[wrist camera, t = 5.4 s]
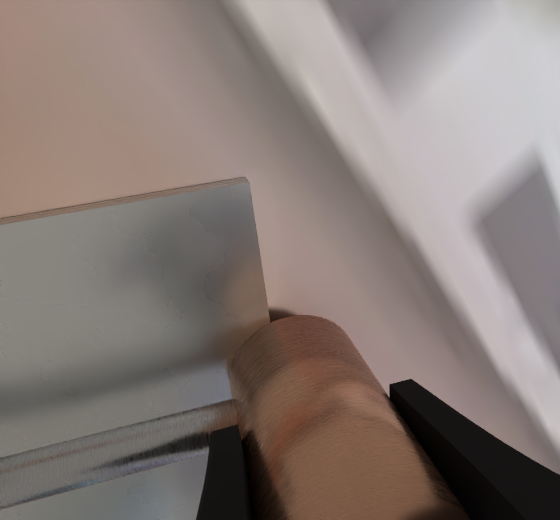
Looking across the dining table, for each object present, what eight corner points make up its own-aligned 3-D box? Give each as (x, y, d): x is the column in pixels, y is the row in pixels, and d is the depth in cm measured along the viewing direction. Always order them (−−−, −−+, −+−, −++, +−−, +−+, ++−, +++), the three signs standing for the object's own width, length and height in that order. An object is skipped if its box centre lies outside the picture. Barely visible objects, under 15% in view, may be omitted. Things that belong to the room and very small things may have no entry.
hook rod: (351, 302, 13) (488, 476, 7) (357, 404, 14) (471, 608, 9) (-235, 435, 10) (-703, 848, 5) (-145, 538, 12) (-414, 930, 6)
